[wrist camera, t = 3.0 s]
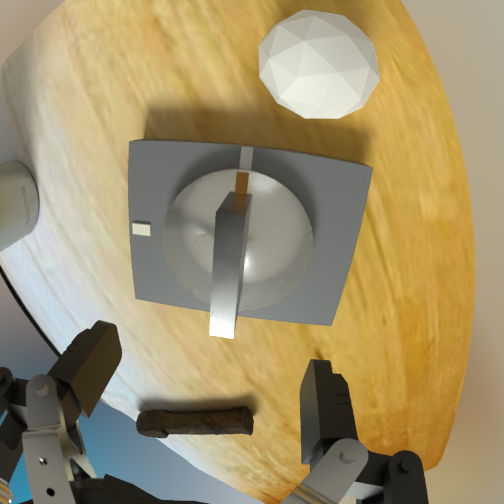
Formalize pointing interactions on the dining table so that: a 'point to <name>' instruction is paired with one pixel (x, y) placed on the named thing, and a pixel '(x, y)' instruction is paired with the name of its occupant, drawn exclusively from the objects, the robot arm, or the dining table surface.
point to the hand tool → (195, 423)
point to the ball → (318, 65)
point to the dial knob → (237, 243)
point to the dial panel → (271, 163)
